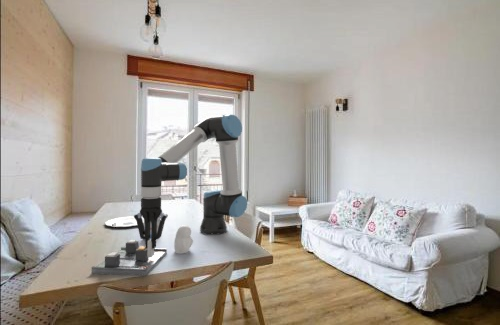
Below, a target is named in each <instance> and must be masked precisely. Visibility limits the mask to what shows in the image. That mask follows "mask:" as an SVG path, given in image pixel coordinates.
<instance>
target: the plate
mask: <svg viewBox="0 0 500 325" xmlns="http://www.w3.org/2000/svg"><path fill="white" fill-rule="evenodd" d="M142 220H143V225H144V218H143V217H142ZM114 223H116V226H112V224H114ZM125 223H131V224H125ZM104 224H105V226H106V227H112V228H115V227H116V228H117V229H128V228H135V227H138V225H137V221H136V219H135V218H134V215H133V216H132V215H131V216H130V215H129V216H121V217H120V216H119V217H116V218H112V219H109V220H107V221H105V222H104Z"/></svg>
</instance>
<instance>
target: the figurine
mask: <svg viewBox="0 0 500 325" xmlns="http://www.w3.org/2000/svg"><path fill="white" fill-rule="evenodd" d="M191 234H192V230H191V227H190V226H189V225H187V224H183V225H180V226H179V227H178V228H177V230H176V233H175V238H174V243H173V244H174V246H173V247H174V248H173V249H174V252H175V253H176V254H180V255H181V254H182V255H183V254H187V253H189V251H190V248H191V247H192V246H193V243H194V239H193V238H192V237H191Z"/></svg>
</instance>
